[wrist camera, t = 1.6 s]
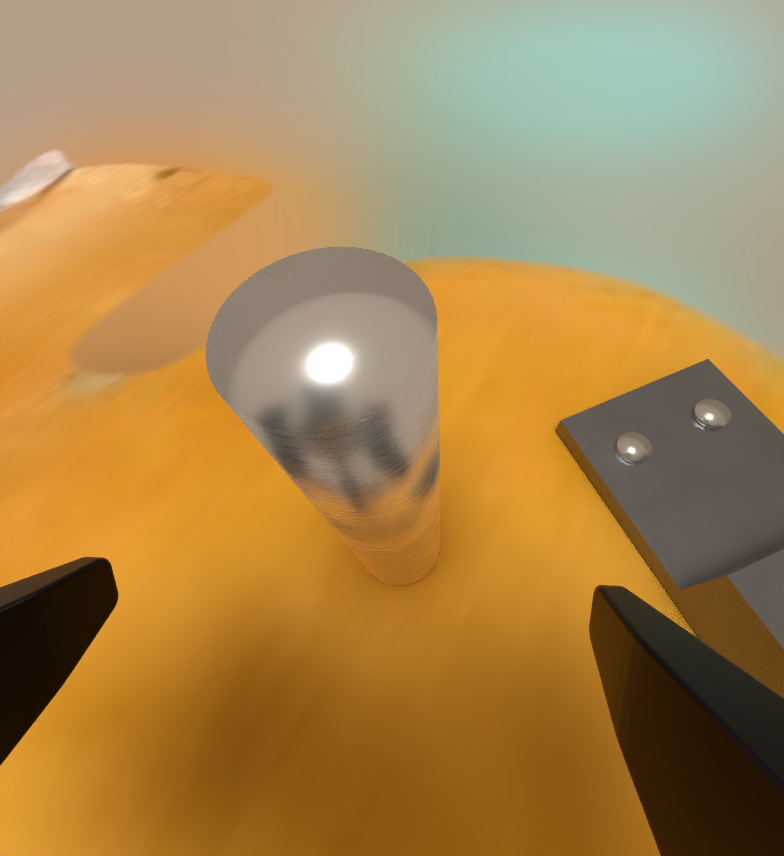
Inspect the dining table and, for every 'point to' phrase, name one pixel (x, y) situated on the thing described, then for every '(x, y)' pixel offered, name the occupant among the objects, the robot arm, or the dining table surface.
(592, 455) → the grey socket base plate
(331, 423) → the pin
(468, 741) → the dining table surface
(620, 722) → the robot arm
